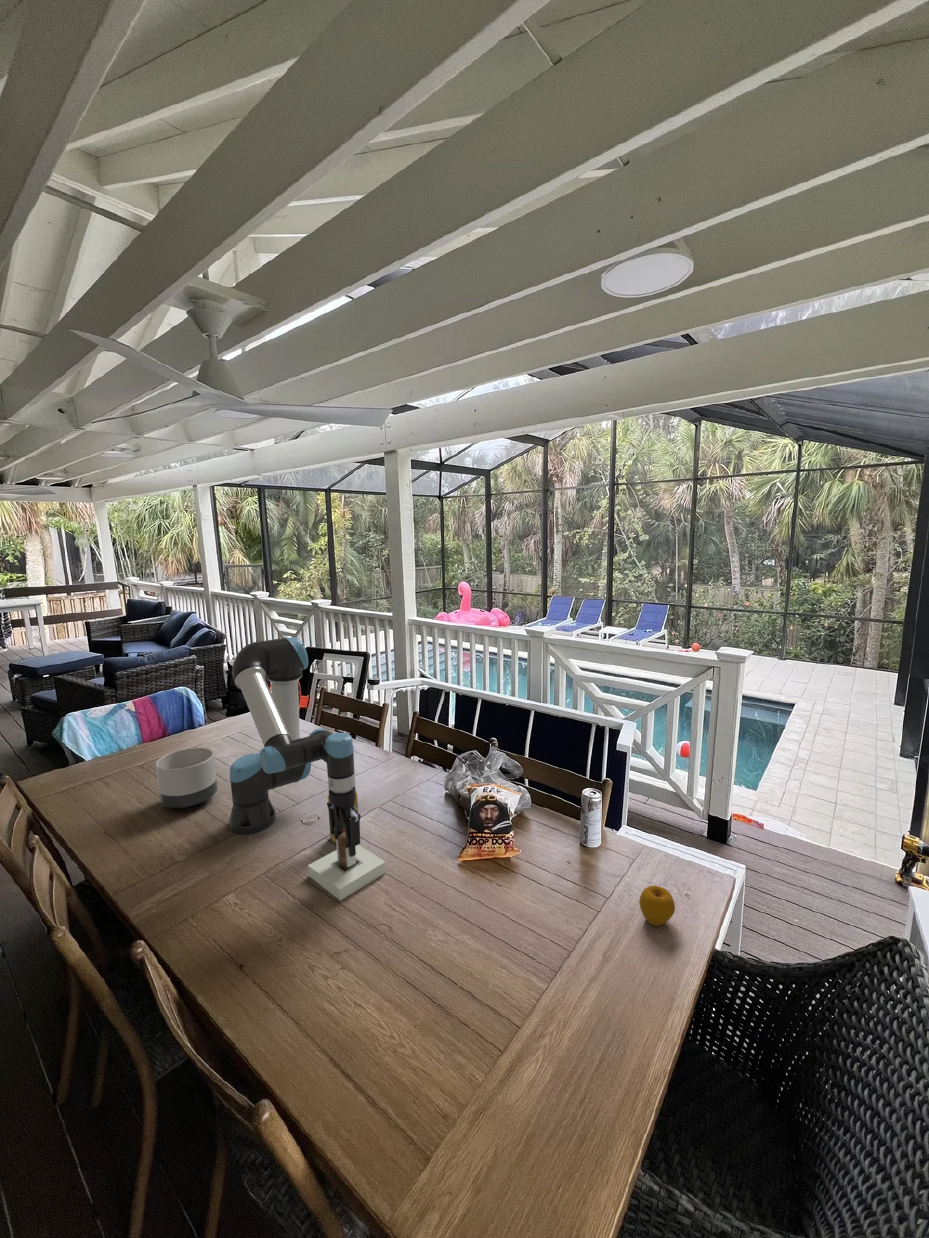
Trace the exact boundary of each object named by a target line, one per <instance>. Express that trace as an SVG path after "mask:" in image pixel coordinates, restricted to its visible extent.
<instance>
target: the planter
mask: <svg viewBox="0 0 929 1238" xmlns="http://www.w3.org/2000/svg"><path fill="white" fill-rule="evenodd" d="M155 771H156V779H157V785H158V786H157V787H158V796H159V802H160V804H161V805H162V806H164V807H166V808H173V809H175V808H177V809H178V808H179V809H183V808H184V809H185V808H190V807H191V808H192V807H195V806H196V805H200V804H201V803H203V802H206V801H207V800H209V799H210V798H211V797H213V796H214V795H215V794H216V793H217V791H218V780H217V772H216V761H215V754H214V751H213V750H212V749H210V748H208V747H189V748H184V749H178V750H175V751H172V752H169V753H167V754H165V755H163V756H161V757H160V758H159V759H157V760H156V762H155Z"/></svg>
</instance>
